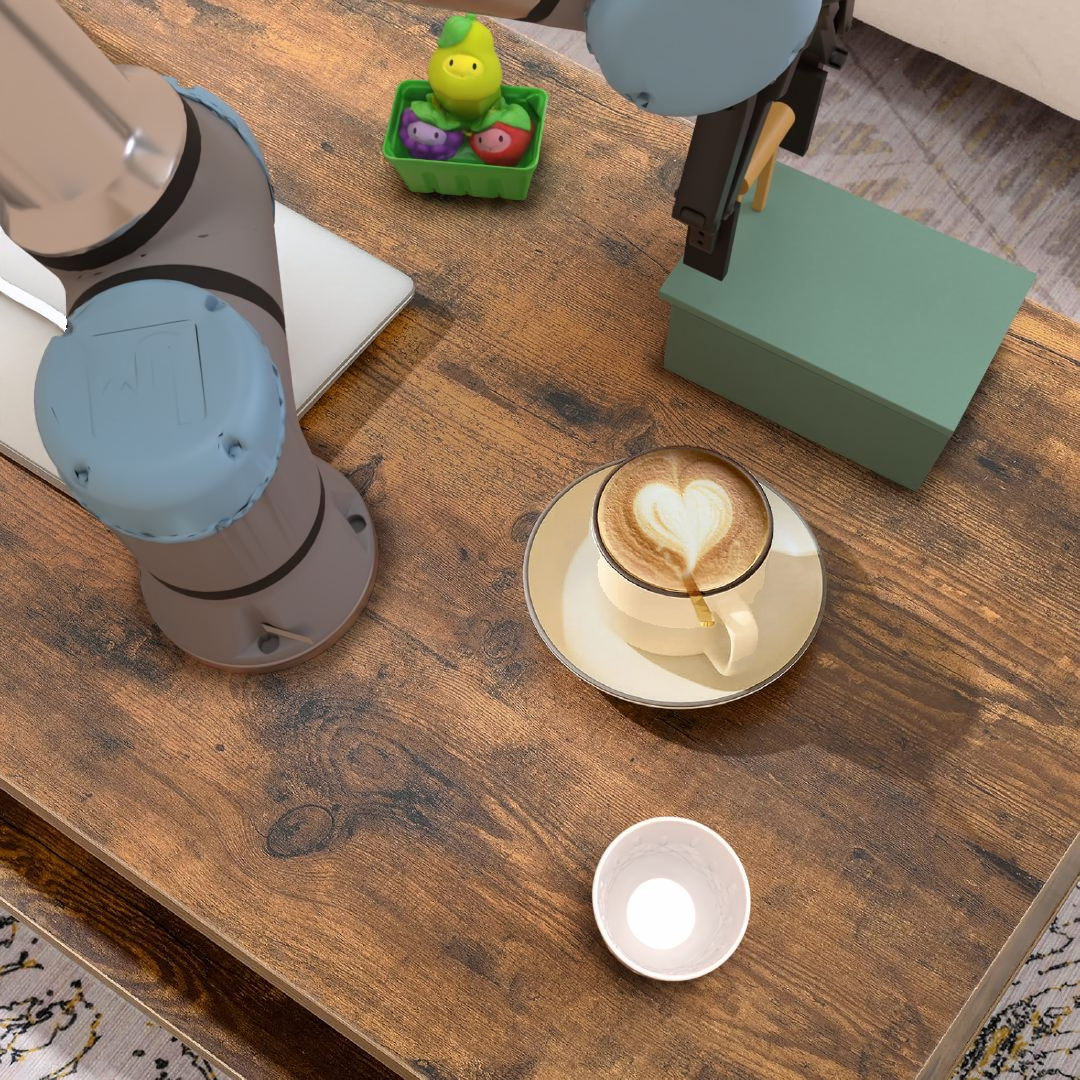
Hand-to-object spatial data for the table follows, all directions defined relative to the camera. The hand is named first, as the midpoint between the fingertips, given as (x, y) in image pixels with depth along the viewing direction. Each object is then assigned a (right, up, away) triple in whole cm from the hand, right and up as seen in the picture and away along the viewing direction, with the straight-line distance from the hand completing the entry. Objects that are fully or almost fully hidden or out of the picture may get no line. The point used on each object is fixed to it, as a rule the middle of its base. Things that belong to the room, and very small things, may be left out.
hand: (746, 205), depth 73 cm
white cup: (-6, -43, -6) cm, 44 cm away
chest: (+7, -8, +8) cm, 14 cm away
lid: (+7, -5, +2) cm, 8 cm away
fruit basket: (-18, +8, +16) cm, 26 cm away
